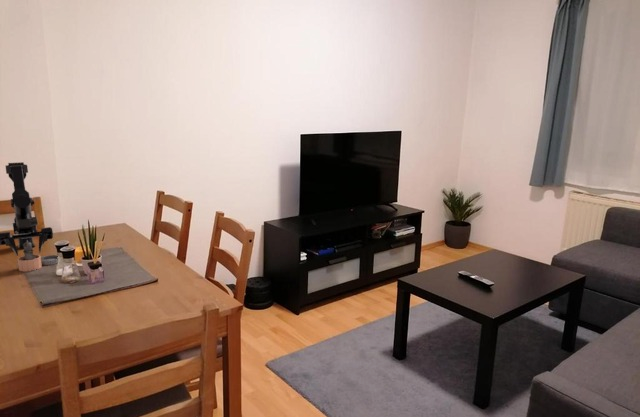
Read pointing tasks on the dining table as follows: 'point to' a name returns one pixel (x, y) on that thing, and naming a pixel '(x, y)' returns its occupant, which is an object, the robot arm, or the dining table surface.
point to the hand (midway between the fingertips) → (28, 253)
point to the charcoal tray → (49, 260)
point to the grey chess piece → (28, 251)
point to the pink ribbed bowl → (29, 263)
